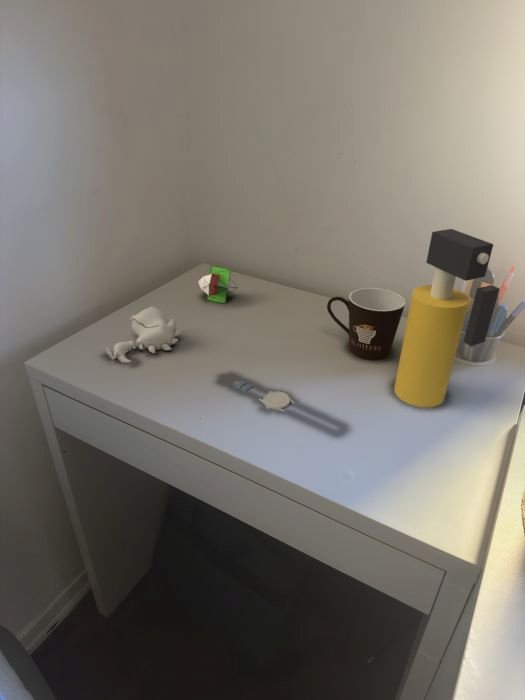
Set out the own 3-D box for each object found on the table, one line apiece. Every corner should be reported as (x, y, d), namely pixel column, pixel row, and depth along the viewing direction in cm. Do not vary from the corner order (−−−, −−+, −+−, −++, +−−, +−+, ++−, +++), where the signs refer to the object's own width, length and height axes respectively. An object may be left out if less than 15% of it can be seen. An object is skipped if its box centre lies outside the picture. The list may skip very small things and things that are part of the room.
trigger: (477, 337, 62) (491, 284, 58) (484, 342, 61) (499, 288, 57) (463, 341, 61) (476, 288, 57) (470, 346, 60) (485, 291, 56)
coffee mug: (406, 358, 81) (417, 302, 76) (368, 373, 77) (377, 316, 72) (356, 329, 90) (363, 278, 84) (320, 342, 85) (324, 288, 80)
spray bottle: (419, 379, 76) (453, 223, 64) (462, 410, 70) (509, 243, 57) (383, 390, 73) (411, 230, 61) (424, 423, 67) (465, 251, 55)
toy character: (98, 347, 81) (160, 315, 87) (126, 384, 78) (189, 349, 84) (93, 326, 77) (159, 293, 82) (122, 365, 74) (189, 328, 79)
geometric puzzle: (215, 277, 104) (202, 255, 97) (245, 283, 101) (234, 260, 94) (202, 307, 101) (189, 286, 94) (233, 313, 99) (221, 292, 92)
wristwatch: (231, 374, 76) (231, 369, 75) (348, 426, 66) (349, 420, 65) (213, 387, 73) (213, 381, 72) (332, 443, 63) (333, 437, 62)
